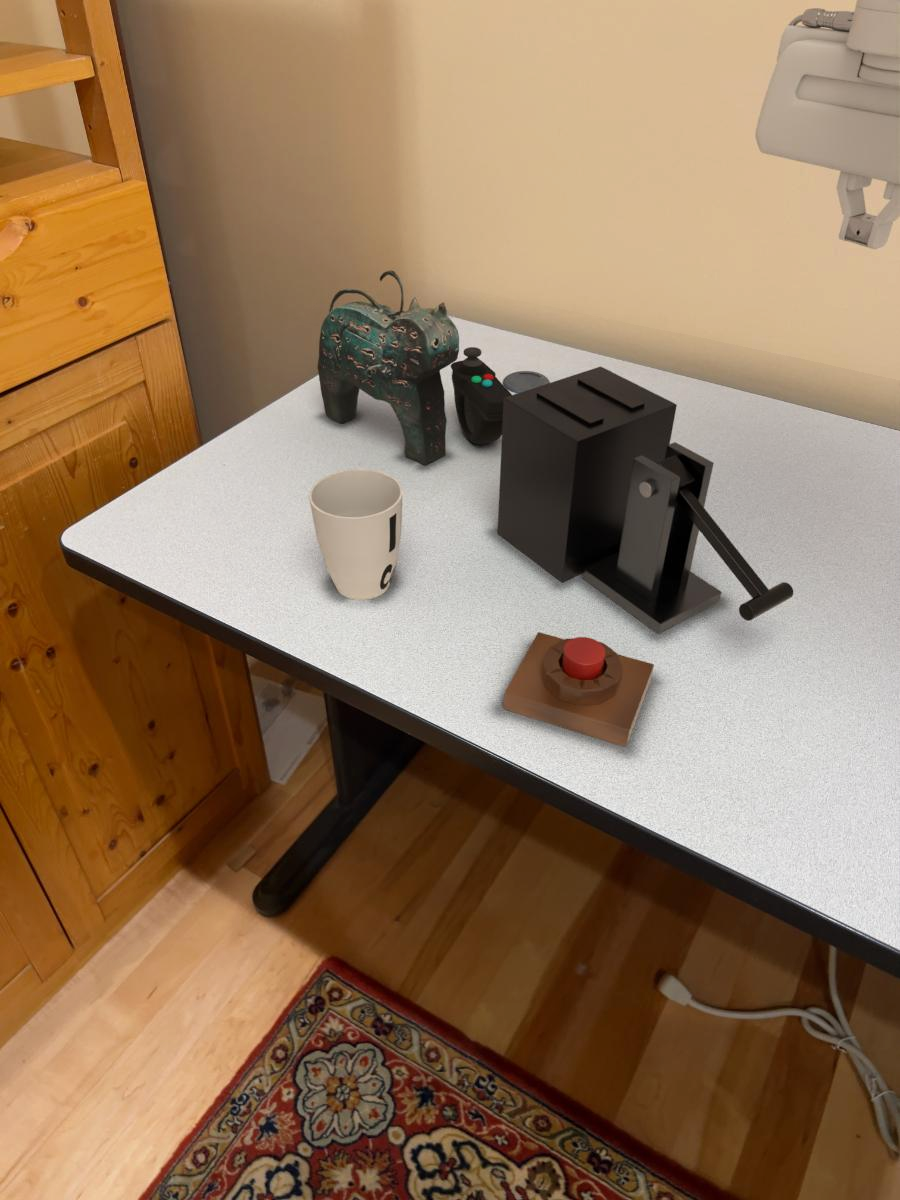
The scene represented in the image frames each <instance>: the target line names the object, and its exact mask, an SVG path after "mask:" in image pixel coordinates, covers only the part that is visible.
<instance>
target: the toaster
mask: <svg viewBox="0 0 900 1200" xmlns="http://www.w3.org/2000/svg"><path fill="white" fill-rule="evenodd" d="M677 407H678V405H677V403H675V402H673V401H671V400H669V399H667V398H665V397H663V396H661V395H659V394H657V393H655V392H653V391H650V390H649V389H647V388H645V387H643V386H641V385H639V384H637V383H635V382H633V381H631V380H629V379H627V378H625V377H624V376H621V375H619V374H617V373H615V372H613V371H611V370H608V369H607V368H605V367H603V366H598V367H594V368H592V369H588V370H585V371H582V372H579V373H576V374H573V375H570V376H566V377H564V378H560V379H557V380H555V381H551V382H548V383H545V384H542V385H539V386H536V387H533V388H530V389H526V390H523V391H521V392H518V393H515V394H512V395H511V396H508V397H505V398H504V405H503V426H502V436H501V447H500V449H501V451H500V452H501V453H500V468H499V469H500V470H499V471H500V473H499V489H498V490H499V491H498V492H499V493H498V494H499V495H498V513H497V514H498V515H497V532H496V533H497V535H498V536H500V537H501V538H503V539H504V540H505V541H506V542H508V543H509V544H510V545H512V546H513V547H514V548H516V549H517V550H518V551H519V552H521V553H522V554H523V555H525V556H526V557H528V559H530V560H531V561H533V562H534V563H535V564H536V565H538V566H539V567H541V568H542V569H543V570H545V571H546V572H547V573H548V574H550V575H551V576H552V577H553V578H555V579H556V580H557V581H558V582H560V583H561V584H562V583H566V582H568V581H570V580H572V579H573V578H576V577H578V576H580V575H582V574H583V569H584V568H585V567H588V566H590V565H592V564H594V563H596V562H598V561H601V560H603V559H605V558H607V557H609V556H611V555H614V554H616V553H618V552H619V551H620V545H621V538H622V532H623V525H624V519H625V512H626V506H627V499H628V493H629V486H630V480H631V473H632V467H633V460H634V458H636V457H639V456H641V455H643V456H644V457H646V458H648V459H650V460H651V461H653V462H655V463H658V462H660V461H662V460H665V455H666V450H667V445H669V444H671V441H672V440H671V439H672V434H673V428H674V422H675V417H676V411H677Z"/></svg>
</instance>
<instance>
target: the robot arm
mask: <svg viewBox="0 0 900 1200" xmlns="http://www.w3.org/2000/svg"><path fill="white" fill-rule="evenodd" d="M799 23H801V24H802V25H799ZM757 119H758V120H757V124H756V128H755V135H754V138H755V141H756V144H757V147H758V150H759V152H761V153H762V154H765V155H769V156H774V157H779V158H783V159H787V160H791V161H795V162H800V163H805V164H808V165H812V166H813V165H814V166H817V167H821V168H826V169H830V170H834V171H839V175H838V180H837V183H836V192H837V197H838V201H839V205H840V208H841V213H842V215H843V217H842V222H841V225H840V229H839V233H838V240H841V241H844V242H847V243H851V244H856V245H858V246H861V247H865V248H869V249H871V250H878V249H881V248H883V247H884V246H885V245H886V244H887V242H888V240H889V237H890V234H891V231H892V227H893V224H894V222H896V221H897V220H898V219H899V218H900V0H856V2H855V7H854V11H851V10H850V11H849V10H835V11H833V10H826V9H825V8H819V7H813V8H812V7H811V8H807V9H806V10H804V11H803V13H802V14H799V15H798V16H795V17H794V18H793V19H792V20H791V21H790V22H789V23H788V25H787V26H785V28H784V29H783V32H782V34H781V37H780V42H779V47H778V52H777V55H776V64H775V66H774V69H773V72H772V74H771V77H770V80H769V82H768V86H767V89H766V92H765V95H764V98H763V102H762V105H761V109H760V112H759V116H758V118H757ZM873 179H874V180H878V181H882V182H886V184H885V188H884V192H883V195H882V198H883V199H884V200H889V201H888V202H887V203H886V205H885V206H884V207H883V208H882V209H881V210H880V212H879V213H878V214H877V215H873V214H870V213H867V209H866V201H865V193H864V188H867V187H870V186H871V184H872V181H873Z"/></svg>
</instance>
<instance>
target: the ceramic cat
mask: <svg viewBox="0 0 900 1200" xmlns="http://www.w3.org/2000/svg"><path fill="white" fill-rule="evenodd" d="M386 276H391V277H393V278H394V279H395V280H396V282H397V284H398V286H399V288H400V294H401V295H400V296H401V297H400V299H401V300H400V308H399V311H396V310H394V309H392V308H390V307H389V306H387V305H385V304H382V303H378V302H377V301H376V300H375V299H374V298H373V297H372V296H371V295H369V294H367V293H366V292H365V291H364V290H360V289H355V288H345V289H342V290H338V291H337V292H336V293H335V295H334V296H333V297H332V300H331V302H330V306H329V309H328V314H327V315H326V317H325V318H324V320H323V322H322V324H321V326H320V332H319V340H318V341H319V342H318V361H317V373H318V381H319V385H320V386H319V387H320V394H321V399H322V401H323V408H324V411H325V416H326V417H327V418H329V420H332V422H335V423H338V424H342V425H343V424H345V423H346V422H349V421H352V420H354V419H355V418H356V417H357V410H358V409H357V408H358V401H359V400H358V399H359V394H360V391H362V392H363V393H364V394H367V395H368V396H369V397H371V398H373V399H374V400H377V401H383V402H385V403H388V404H389V405H390V407H391V408H392V410H393V412H394V413H395V416H396V417H397V420H398V422H399V424H400V426H401V428H402V433H403V438H404V455H405V458H408V459H410V460H414V461H416V462H418V463H419V464H421V465H423V466H426V465H430V464H432V463H434V462H435V461H438V460H439V459H441V458H442V457H444V456H446V430H447V423H448V420H447V415H446V414H447V413H446V410H445V409H446V408H445V407H446V406H445V405H446V404H445V403H446V402H445V389H444V385H443V382H442V381H443V380H442V375H441V370H443V369H445V368H446V367H448V366H449V365H450V366H451V364H452V363H454V362H457V360H458V357H459V353H460V334H459V331H458V329H457V326H456V325H455V324H454V321H452V319H451V318H450V316H449V315H448V310H447V307H446V305H445V302H441V303H439V304H438V305H437V306H436V307H435V308H431V307H428V308H427V307H426V308H422V307H420V305H419V302H418V301H417V298H416V296H414V297H413V298H412V300H411V301H410V303H409V308H408V310H407V311H405V310H404V304H405V303H404V287H403V283H402V280H401V278H400V277H399V275H398V274H397V272H395V271H394V270H391V269H390V270H385V271H384V272H383V273H382V274H381V275H380V277H379V281H380V282H382V281H383V279H385V278H386ZM345 294H358V295H360V296H362V297H364V298H365V299H367V300H368V301H369V302H366V301H360V300H359V301H358V300H357V301H351V302H348V303H346V304H343V305H341V306H338V307H337V306H336V307H335V308H334V305H335V303H336V302H337V301H338V300H339V298H340V297H341V296H343V295H345Z"/></svg>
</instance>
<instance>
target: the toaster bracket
mask: <svg viewBox="0 0 900 1200" xmlns="http://www.w3.org/2000/svg"><path fill="white" fill-rule="evenodd" d="M674 455H676V456H677V457H678V458H679V459H680V461H681V462H682V463H683V464H684V466H685V467H686V468H687V469H688V471H689V472H690V473H691V474H692V476H693V477H694V478H695V480H694V482H693V483H692V484H691V485H690V487H689V490H690V491H691V492H692V493H693V495H694V496H695V497H696V498H697V500H698V501H699V502H700V503H701V505H702V506H703V507H704V508H705V505H706V500H707V497H708V492H709V486H710V481H711V477H712V473H713V469H714V464H715V463H714V462H713V461H711V460H710V459H707V458H705V457H704V456H702V455H700V454H698V453H696V452H694V451H693V450H691V449H689V448H687V447H685V446H683V445H681V444H680V443H678V442H676V441H674V442H672V443H670V444H669V445H667V450H666V455H665V459H667V458H669V457H672V456H674ZM679 483H680V476H678V475H676V474H674V473H673V472H671V471H669V470H667V469H665V468H664V467H662V466H660V465H658V464H657V463H655V462H653V461H651V460H650V459H648V458H646V457H644V456H643V455H641V456H639V457H636V458H634V460H633V467H632V473H631V480H630V486H629V493H628V499H627V506H626V512H625V519H624V525H623V532H622V538H621V545H620V551H619V552H618V553H616V554H614V555H611V556H609V557H607V558H605V559H603V560H601V561H598V562H596V563H594V564H592V565H590V566H588V567H585V568H584V569H583V573H582V574H581V579H582V580H584V582H586V583H588V584H589V585H591V586H592V587H593V588H595V589H596V590H597V591H599V592H600V593H601V594H603V595H604V596H605V597H606V598H608V599H610V600H611V601H612V602H614V603H615V604H616V605H618V606H619V607H620V608H622V609H623V610H624V611H626V612H627V613H629V614H630V615H631V616H633V617H634V618H635V619H637V620H638V621H639V622H641V623H642V624H644V625H645V626H646V627H648V628H649V629H650V630H651V631H653V632H654V633H656V634H657V635H660V634H662V633H664V632H665V631H667V630H670V629H671V628H673V627H675V626H677V625H679V624H681V623H682V622H684V621H686V620H688V619H689V618H692V617H693V616H696V615H697V614H699V613H701V612H703V611H705V610H706V609H708V608H710V607H712V606H714V605H716V604H718V603H719V602H720V601H721V597H722V591H721V590H720V589H718V588H717V587H715V586H713V585H712V584H711V583H709V582H707V581H706V580H704V579H703V578H701V577H700V576H698V575H696V574H695V573H694V572H692V571H691V569H692V564H693V559H694V554H695V549H696V547H697V541H698V536H699V533H700V530H699V529H698V528H697V526H696V525H695V524H694V523H693V521H692V520H691V519H690V518H689V516H688V515H687V514H686V512H685V511H684V510H683V509H682V507H681V506H680V505H679V503H678V502H677V501H676V498H677V493H678V488H679Z"/></svg>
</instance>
